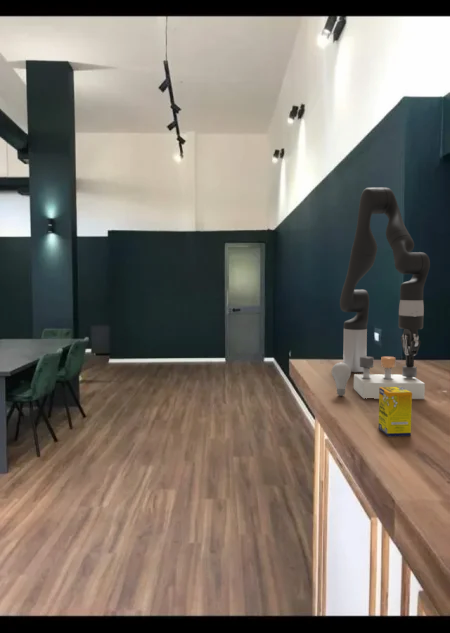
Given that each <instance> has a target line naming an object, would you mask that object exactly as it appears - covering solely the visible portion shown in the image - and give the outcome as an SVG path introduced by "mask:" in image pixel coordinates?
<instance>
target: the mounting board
mask: <svg viewBox="0 0 450 633" xmlns="http://www.w3.org/2000/svg"><path fill="white" fill-rule="evenodd" d="M425 386H426V383H425V382H423V381H422V380H420V379H418V378H416V377H413V380H406V377H405V376H402V373H401V374H392V373H391V380H385V373H383V374H382V373H381V374H378V373H377V374H376V373H374V374H372V373H371V374H370V375H369V379H363V373H361V374H360V373H359V374H358V373H357V374H356V373H355V374H353V390H355V392H356V393H357V394H358V395H359V396H360V397H362V399H365V398H366V399H367V398H374V399H375V400H376V399H377V400H379V387H402V388H404V389H406V390H408V391H410V392H412V400H425V390H426V389H425ZM367 400H368V399H367Z"/></svg>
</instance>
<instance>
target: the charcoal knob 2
mask: <svg viewBox="0 0 450 633" xmlns="http://www.w3.org/2000/svg"><path fill="white" fill-rule="evenodd" d="M401 370H402V373H401V374H402V376H405V377H406V380H413V377H415V378H416V377H417V374H418V368H417V366H416V365H415V366H413V367H407V366H406V365H402V369H401Z"/></svg>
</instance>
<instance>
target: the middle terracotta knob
mask: <svg viewBox="0 0 450 633" xmlns="http://www.w3.org/2000/svg"><path fill="white" fill-rule="evenodd" d="M380 358H381V359H380V367H381V368H384V374H385V380H391V374H392V368H396V356H395V357H394V356H381V357H380Z"/></svg>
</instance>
